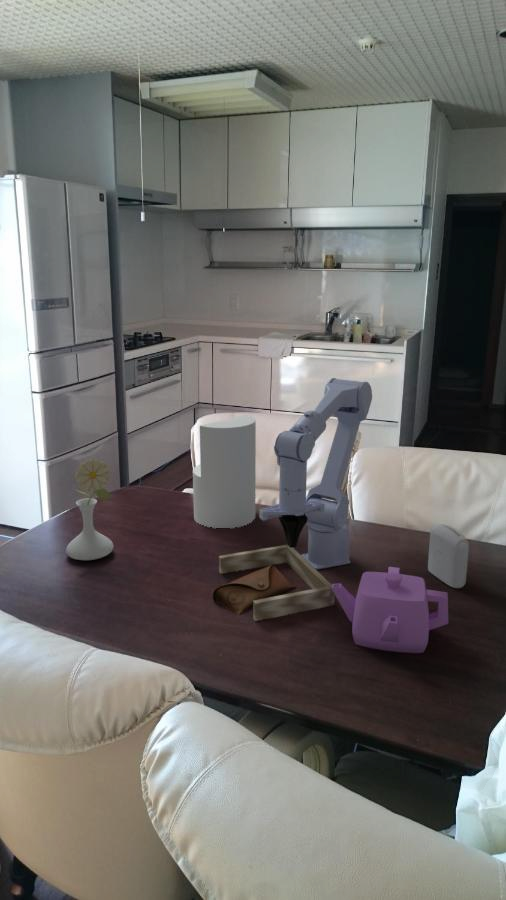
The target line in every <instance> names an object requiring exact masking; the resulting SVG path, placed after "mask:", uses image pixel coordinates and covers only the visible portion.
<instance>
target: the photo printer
mask: <svg viewBox="0 0 506 900" xmlns="http://www.w3.org/2000/svg"><path fill="white" fill-rule="evenodd" d="M429 534H430V535H429V536H430V537H429V546H428V558H427V559H428V561H427V570H428V572H429V573H431V575H433V576H434V577H436V578H437V579H438V580H440V581H441V582H442V583H444V584H446V585H447V586H449V587H451V588H453V589H461V588H463V587H464V586H465V585H466V583H467V582H466V581H467V571H468V563H469V562H468V560H469V551H470V550H469V548H470V543H469V541H468V539H467V538H466V537H465V535H464V534H462V532H460V531H459V530H457V528H455V527H452V526H451V525H449V524H444V523H439V524H435V525H433V526H432V528H431V530H430V533H429Z"/></svg>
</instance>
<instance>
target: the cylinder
mask: <svg viewBox="0 0 506 900" xmlns="http://www.w3.org/2000/svg"><path fill="white" fill-rule="evenodd" d="M256 422H257V421H256V419H255V417H253V416H251V415H248V414H243V415H239V416H236V417H230V418H228V419H222V420H218V421H213V422H210V423H206V424H201V425H199V453H200V454H199V456H200V462H199V463H200V464H198V465H196V466H194V468H193V469H192V490H193V491H192V492H193V493H192V495H193V497H192V498H193V519H194V521H195V522H196V523H197V524H198V523H199V524H198V525H200V524H201V525H200V526H202V525H204V526H203V527H206V526H207V527H206V528H210V527H212V528H211V529H216V528H230V529H236V528H235V527H237V528H242V527H244V525H245V526H248V525H250V524H252V521H253V520H254V519H256V466H257V465H256V463H257V462H256V457H257V456H256V452H257V451H256V445H257V444H256V442H257V441H256V436H257V435H256V431H257V430H256V428H257V427H256V425H257V424H256ZM254 521H255V520H254ZM254 521H253V522H254ZM249 523H250V524H249ZM247 524H248V525H247ZM241 526H242V527H241Z"/></svg>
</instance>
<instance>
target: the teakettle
mask: <svg viewBox="0 0 506 900" xmlns="http://www.w3.org/2000/svg"><path fill="white" fill-rule="evenodd" d="M331 585H332V590H333V592H334V594H335V597H336V599H337V601H338V602H339V604H340V606H341V608H342V610H343V612H344V613H345V615H346V617H347V619H348V620H349V621H350V622H351V623H352V624H351V625H352V626H351V628H352V629H351V630H352V631H351V632H352V633H351V634H352V638H353V642H354V644H355V645H357V646H359V647H364V648H368V649H369V648H370V649H374V650H381V651H385V652H393V653H394V652H395V653H405V654H406V653H408V654H422V653H424V652H425V650H426V649H427V646H428V643H429V635H430V634H429V633H430V630H435V629H437V628H439V627H442V626H446V625H448V624H449V604H448V603H449V597H448V596H449V595H448V594H449V593H448V592H447V591H446V592H445V591H440V590H432V589H427V588H426V581H425V578H423V577H421V576H416V575H411V574H403V573H400V567H396V566H395V567H394V566H388V570H387V572H383V571H381V572H380V571H364V572H363V573H362V575H361V578H360V581H359V585H358V587H357V588H358V589H357V593H356V597H354V596H353V595H352V594H351V593H350V592H349V591H348V590H347V588H346V587H344V585H343V584H342V583H331ZM429 602H433V603H437V604H438V605H437V611H434V612H432V613H430V612H429V610H430V609H429Z"/></svg>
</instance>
